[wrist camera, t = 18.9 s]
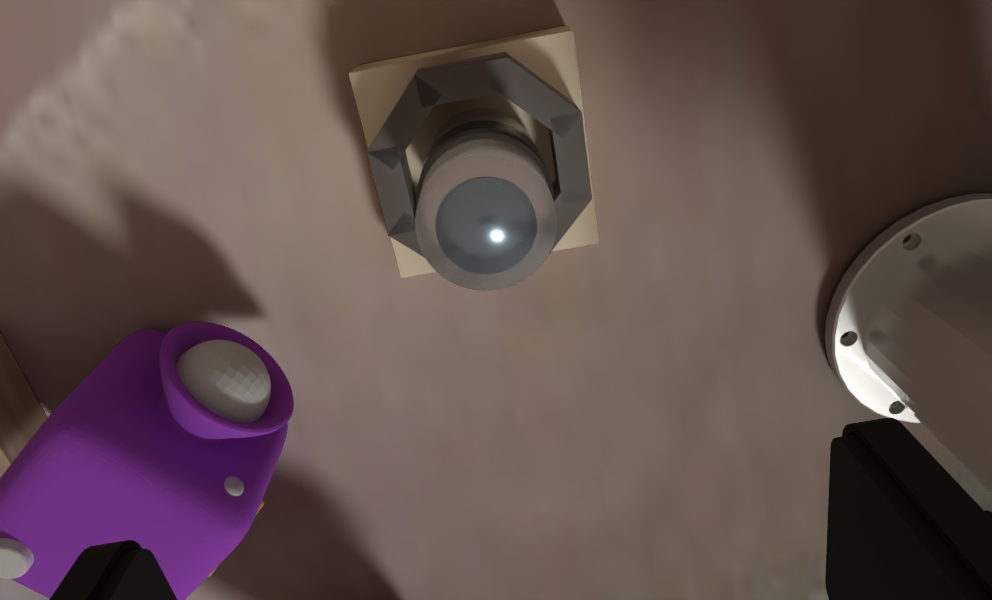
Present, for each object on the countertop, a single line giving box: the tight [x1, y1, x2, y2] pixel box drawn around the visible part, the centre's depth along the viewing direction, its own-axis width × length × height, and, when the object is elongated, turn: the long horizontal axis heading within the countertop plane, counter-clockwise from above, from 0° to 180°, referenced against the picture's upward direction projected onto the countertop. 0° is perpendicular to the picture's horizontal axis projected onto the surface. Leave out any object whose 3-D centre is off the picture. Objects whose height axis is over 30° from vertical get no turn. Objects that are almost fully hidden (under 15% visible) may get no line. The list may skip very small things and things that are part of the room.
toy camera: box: [0, 322, 294, 600], centre depth 32 cm, size 11×14×10 cm
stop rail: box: [0, 333, 47, 478], centre depth 36 cm, size 2×14×4 cm, turn 10°
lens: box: [415, 108, 557, 290], centre depth 26 cm, size 5×5×8 cm
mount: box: [349, 26, 599, 278], centre depth 29 cm, size 9×9×4 cm
